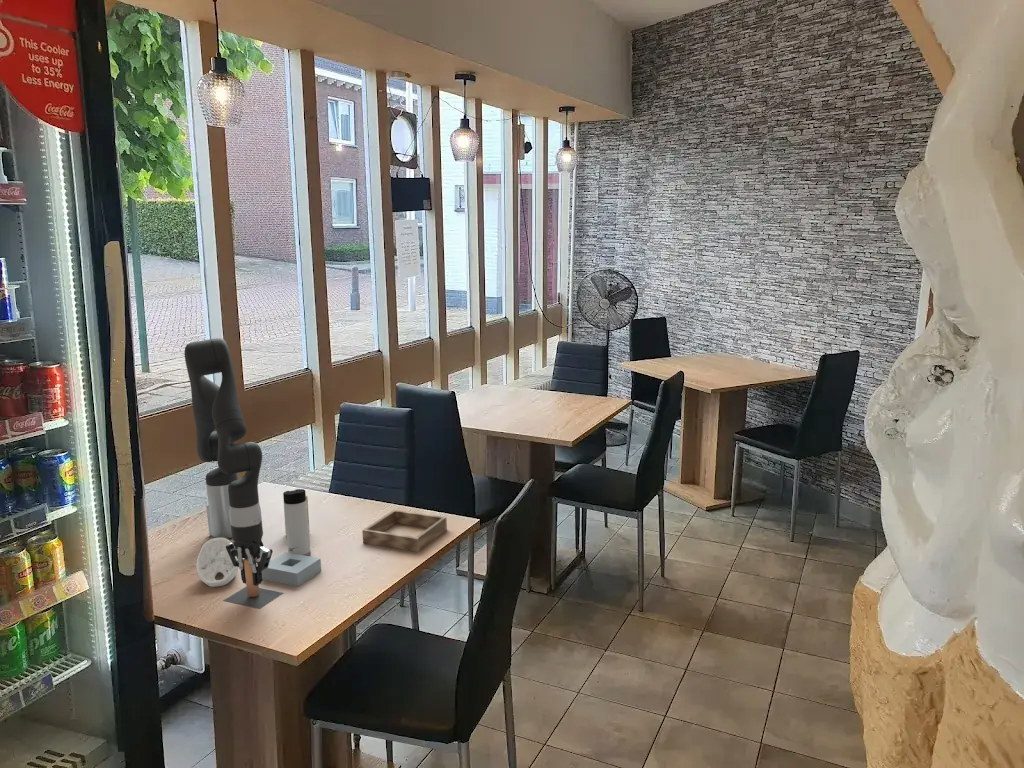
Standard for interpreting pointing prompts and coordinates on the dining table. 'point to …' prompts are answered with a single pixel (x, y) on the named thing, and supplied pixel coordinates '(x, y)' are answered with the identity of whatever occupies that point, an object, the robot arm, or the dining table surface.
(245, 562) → the peg
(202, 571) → the skull bowl
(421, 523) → the square wooden frame
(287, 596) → the dining table surface
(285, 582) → the block
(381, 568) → the dining table surface
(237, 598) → the mat
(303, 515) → the travel mug
